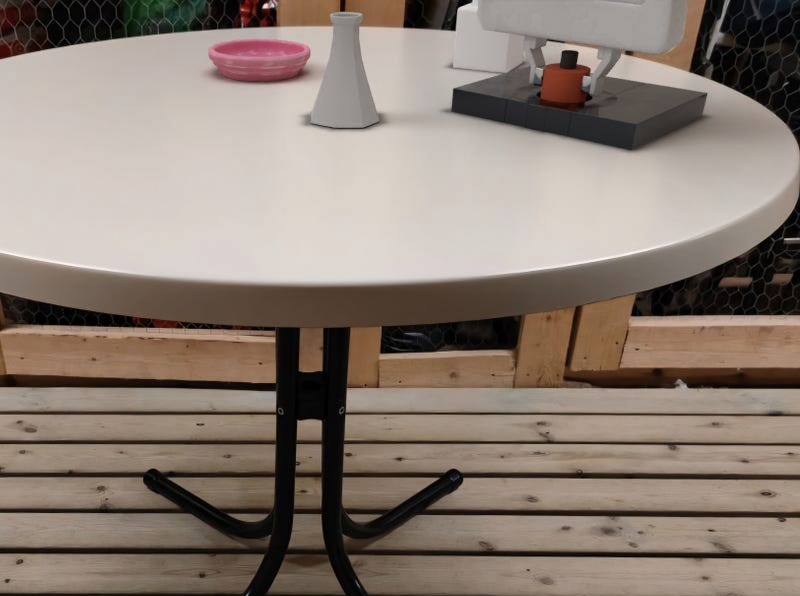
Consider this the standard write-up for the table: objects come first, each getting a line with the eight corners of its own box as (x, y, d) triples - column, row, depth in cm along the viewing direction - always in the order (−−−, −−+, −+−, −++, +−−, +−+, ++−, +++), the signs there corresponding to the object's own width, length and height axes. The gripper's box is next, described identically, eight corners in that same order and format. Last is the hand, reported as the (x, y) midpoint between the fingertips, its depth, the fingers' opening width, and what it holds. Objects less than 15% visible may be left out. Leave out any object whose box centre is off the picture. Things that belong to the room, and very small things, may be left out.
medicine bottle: (523, 63, 108) (536, -40, 101) (506, 74, 102) (519, -35, 96) (470, 58, 110) (479, -43, 104) (451, 68, 105) (460, -38, 99)
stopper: (591, 109, 84) (602, 51, 81) (569, 117, 81) (579, 58, 78) (553, 101, 86) (561, 45, 83) (530, 109, 84) (538, 51, 81)
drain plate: (701, 118, 85) (707, 92, 84) (630, 152, 75) (635, 124, 74) (531, 86, 97) (534, 64, 96) (450, 113, 87) (452, 88, 86)
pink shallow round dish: (290, 60, 109) (290, 34, 108) (325, 80, 100) (325, 52, 98) (198, 68, 106) (196, 41, 104) (225, 89, 96) (224, 60, 94)
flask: (387, 115, 86) (392, 10, 81) (369, 133, 81) (373, 22, 75) (321, 109, 88) (321, 7, 83) (299, 127, 82) (298, 18, 77)
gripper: (717, -64, 71) (679, 101, 79) (512, -76, 83) (496, 69, 91) (687, -60, 67) (650, 114, 75) (476, -73, 79) (462, 78, 87)
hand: (564, 89), depth 83 cm, fingers closed on stopper, 4 cm apart
